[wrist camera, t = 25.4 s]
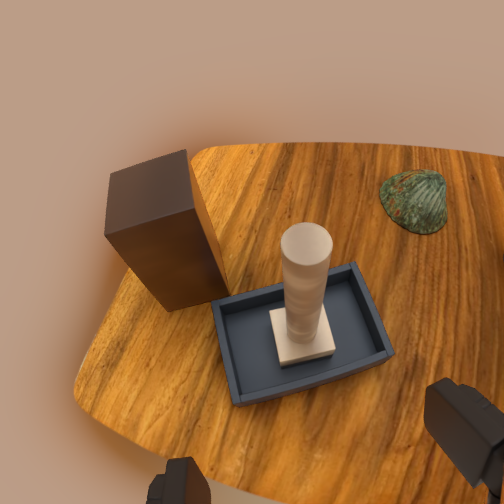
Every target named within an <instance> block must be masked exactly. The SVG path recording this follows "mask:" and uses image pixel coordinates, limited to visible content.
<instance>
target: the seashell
mask: <svg viewBox="0 0 504 504" xmlns="http://www.w3.org/2000/svg"><path fill="white" fill-rule="evenodd" d="M379 191H380V194H379V195H380V198H381V203H382V204H383V205H384V209H385V210H387V214H388V215H390V216H391V218H392V220H394V221H396V222H397V224H399V225H401V226H402V227H404V228H407V229H408V230H409V231H411V232H415V233H420V234H428V233H433V232H436V231H438V230H439V229H440V228H441V227H442V226H443V225H444V224H445V223H446V221H447V208H446V201H445V198H446V182H445V179H444V178H443V177H442V175H440V174H439V173H438V172H435V171H433V170H426V169H423V170H422V169H419V170H411V171H408V172H404V173H400V174H396V175H394V176H392V177H391V178H389V179H388V180H386V181H385V182H384V183H383V185H382V187H381V188H380V190H379Z"/></svg>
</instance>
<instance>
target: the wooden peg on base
mask: <svg viewBox="0 0 504 504" xmlns="http://www.w3.org/2000/svg"><path fill="white" fill-rule="evenodd" d="M280 246H281V259H282V272H283V285H284V299H285V307H284V308H280V309H275V310H270V311H269V313H270V318H271V324H272V328H273V333H274V338H275V343H276V347H277V352H278V357H279V362H280V367H281V369H285V368H289V367H294V366H298V365H303V364H307V363H311V362H315V361H319V360H323V359H327V358H331V357H332V356H333V353H334V351H335V349H336V348H335V344H334V340H333V337H332V333H331V330H330V326H329V323H328V319H327V316H326V312H325V309H324V305H323V298H324V293H325V288H326V282H327V277H328V271H329V265H330V259H331V253H332V247H333V243H332V238H331V236H330V234H329V233H328V232H327V231H326V230H325V229H324V228H323V227H321V226H320V225H317V224H314V223H308V222H303V223H298V224H295V225H293V226H291V227H290V228H288V229H287V230H286V231H285V232H284V234H283V236H282V238H281V242H280Z"/></svg>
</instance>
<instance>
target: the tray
mask: <svg viewBox="0 0 504 504" xmlns="http://www.w3.org/2000/svg"><path fill="white" fill-rule="evenodd" d="M211 305H212V310H213V315H214V320H215V325H216V330H217V335H218V340H219V344H220V349H221V354H222V358H223V363H224V368H225V372H226V377H227V381H228V385H229V390H230V394H231V398H232V403H233V404H234V405H235V406H237V407H243V406H248V405H252V404H256V403H260V402H264V401H268V400H272V399H276V398H280V397H283V396H287V395H290V394H294V393H297V392H301V391H304V390H308V389H311V388H314V387H317V386H321V385H324V384H327V383H330V382H333V381H336V380H339V379H342V378H345V377H347V376H350V375H353V374H356V373H359V372H361V371H364V370H367V369H369V368H372V367H375V366H377V365H380V364H382V363H385V362H386V361H387V360H389V359H390V358H391V357H392V356H393V355H394V354H395V353H394V350H393V348H392V345H391V343H390V340H389V338H388V335H387V333H386V330H385V328H384V325H383V323H382V321H381V318H380V316H379V313H378V311H377V309H376V306H375V304H374V302H373V299H372V297H371V295H370V292H369V290H368V288H367V286H366V283H365V281H364V279H363V277H362V275H361V272H360V270H359V268H358V266H357V264H356V262H355V261H354V262H351V263H348V264H344V265H341V266H338V267H334V268H331V269H329V271H328V277H327V282H326V288H325V293H324V298H323V305H324V309H325V312H326V316H327V319H328V323H329V326H330V330H331V333H332V337H333V340H334V344H335V348H336V349H335V351H334V353H333V356H332V357H331V358H327V359H323V360H319V361H315V362H311V363H307V364H303V365H298V366H294V367H289V368H285V369H281V367H280V362H279V357H278V352H277V347H276V343H275V338H274V333H273V328H272V324H271V318H270V313H269V311H270V310H275V309H280V308H284V307H285V299H284V285H283V282H282V283H278V284H275V285H271V286H267V287H264V288H260V289H256V290H252V291H249V292H245V293H241V294H237V295H234V296H230V297H226V298H222V299H219V300H214V301H211Z"/></svg>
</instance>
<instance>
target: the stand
mask: <svg viewBox="0 0 504 504" xmlns="http://www.w3.org/2000/svg"><path fill="white" fill-rule="evenodd" d="M104 235H105V237H106V238H107V239H108V241H109V242H110V243H111V244H112V246H113V247H114V248H115V250H116V251H117V252H118V253H119V255H120V256H121V257H122V258H123V260H124V261H125V262H126V263H127V265H128V266H129V267H130V268H131V270H132V271H133V272H134V273H135V274H136V276H137V277H138V278H139V279H140V280H141V282H142V283H143V284H144V285H145V286H146V287H147V289H148V290H149V291H150V292H151V293H152V294H153V296H154V297H155V298H156V299H157V300H158V301H159V303H160V304H161V305H162V306H163V307H164V308H165V309H166V310H167V312H169V311H173V310H177V309H181V308H185V307H189V306H193V305H197V304H201V303H205V302H209V301H213V300H217V299H221V298H225V297H228V296H230V291H229V287H228V283H227V278H226V274H225V269H224V265H223V260H222V256H221V251H220V247H219V243H218V240H217V237H216V234H215V231H214V229H213V226H212V223H211V220H210V217H209V214H208V212H207V209H206V206H205V203H204V200H203V197H202V194H201V192H200V189H199V186H198V183H197V180H196V177H195V174H194V171H193V168H192V165H191V162H190V160H189V157H188V154H187V151H186V149H184V150H181V151H178V152H175V153H171V154H168V155H165V156H161V157H158V158H155V159H152V160H149V161H145V162H142V163H139V164H136V165H134V166H131V167H128V168H125V169H122V170H119V171H116V172H114V173H111V174H110V181H109V190H108V198H107V208H106V219H105V231H104Z"/></svg>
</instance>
